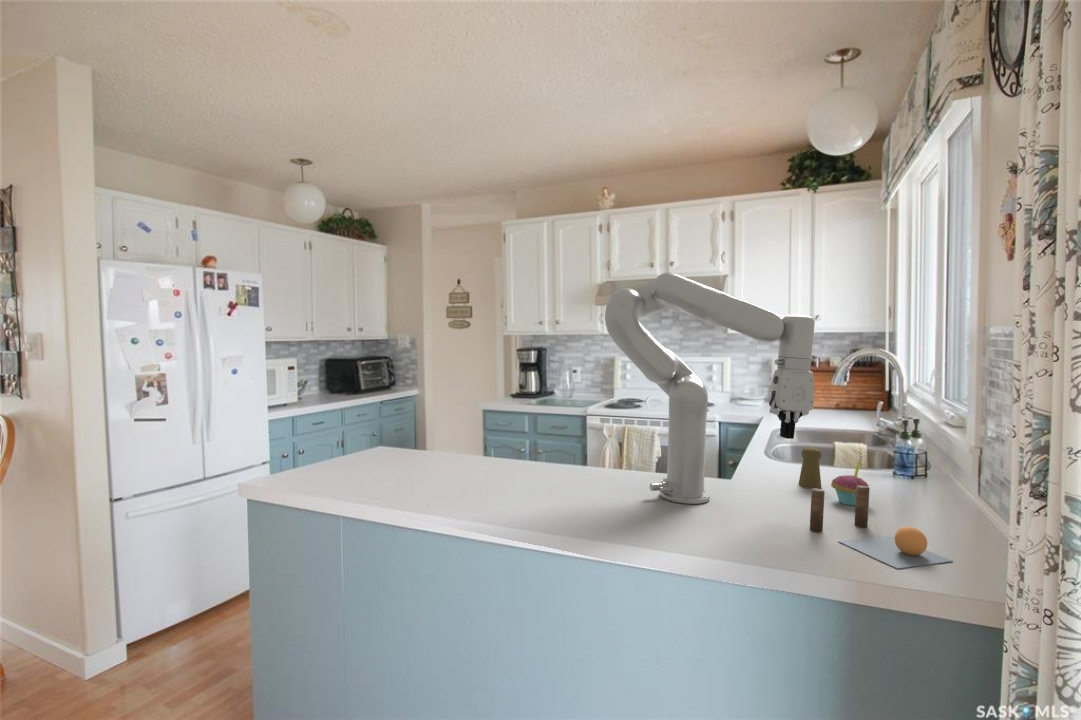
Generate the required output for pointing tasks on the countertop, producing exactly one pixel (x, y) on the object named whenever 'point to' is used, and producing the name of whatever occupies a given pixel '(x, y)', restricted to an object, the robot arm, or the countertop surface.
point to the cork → (810, 468)
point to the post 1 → (817, 510)
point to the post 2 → (862, 506)
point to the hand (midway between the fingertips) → (786, 437)
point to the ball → (910, 541)
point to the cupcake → (848, 486)
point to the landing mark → (892, 552)
